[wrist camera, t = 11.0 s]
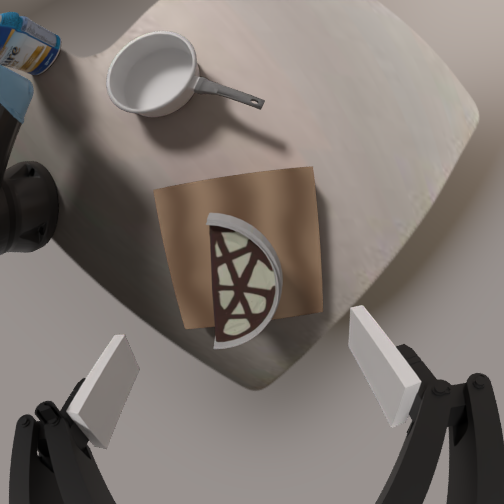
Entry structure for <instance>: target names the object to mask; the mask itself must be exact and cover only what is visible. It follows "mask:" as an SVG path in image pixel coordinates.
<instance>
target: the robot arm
mask: <svg viewBox="0 0 504 504" xmlns="http://www.w3.org/2000/svg"><path fill="white" fill-rule="evenodd" d="M33 92H34V88H33V84H32V83H31V81H29V80H28V79H26V78H24V77H23V76H21V75H19V74H17V73H15V72H13V71H12V70H10V69H8V68H6V67H4V66H2V65H0V255H1V254H3V253H6V252H33V251H35V250H37V249H39V248H41V247H43V246H44V245H46V243H48V242H49V240H50V239H51V237H52V235H53V233H54V230H55V227H56V224H57V218H58V198H57V192H56V188H55V184H54V182H53V179H52V177H51V175H50V173H49V172H48V170H47V169H46V168H45V167H44V166H43V165H41V164H40V163H38V162H34V161H27V162H20V163H17V164H15V165H13V166H12V167H10V168H8V169H7V170H6V167H7V163H8V160H9V157H10V154H11V151H12V148H13V145H14V142H15V140H16V137H17V134H18V132H19V129H20V127H21V125H22V124H23V122H24V117H25V114H26V111H27V109H28V106H29V104H30V101H31V99H32V96H33ZM348 346H349V348H350V350H351V352H352V354H353V356H354V357H355V359H356V361H357V363H358V365H359V367H360V369H361V370H362V372H363V374H364V376H365V378H366V380H367V382H368V384H369V385H370V387H371V389H372V391H373V393H374V395H375V397H376V399H377V401H378V403H379V405H380V407H381V409H382V411H383V413H384V414H385V417H386V418H387V421H388V423H389V424H390V426H391V428H392V427H394V426H397V425H399V424H402V423H405V422H406V420H407V418H408V416H409V415H410V417H411V419H412V423H411V424H410V427H409V429H408V431H407V436H406V439H405V441H404V444H403V447H402V449H401V451H400V454H399V456H398V459H397V461H396V463H395V466H394V468H393V470H392V472H391V474H390V476H389V478H388V481H387V482H386V485H385V486H384V488H383V490H382V493H381V494H380V496H379V498H378V500H377V501H376V503H375V504H422V503H423V501H424V499H425V497H426V494H427V491H428V489H429V486H430V484H431V481H432V478H433V475H434V472H435V469H436V466H437V462H438V459H439V456H440V453H441V449H442V445H443V441H444V437H445V433H446V429H447V427H449V482H448V483H449V484H448V495H447V504H504V441H503V435H502V428H501V423H500V418H499V413H498V408H497V404H496V400H495V396H494V392H493V388H492V385H491V381H490V380H489V378H488V377H487V376H486V375H484V374H481V373H475V374H472V375H471V376H470V377H469V378H468V380H467V382H466V383H463V384H457V385H451V384H450V383H448V382H447V381H444V380H437V379H436V378H435V377H434V375H433V374H432V373H431V371H430V370H429V369H428V368H427V366H426V365H425V364H424V363H423V361H421V359H420V358H419V357H418V356H417V354H416V353H415V351H414V350H413V349H412V348H410V347H408V346H407V345H405V344H403V345H399V346H396V347H395V345H394V344H393V343H392V342H391V340H390V339H389V338H388V336H387V335H386V334H385V333H384V331H383V330H382V329H381V327H380V326H379V325H378V324H377V322H376V321H375V320H374V319H373V317H372V316H371V315H370V314H369V312H368V311H367V310H366V309H365V307H364V306H363V305H361V306H357V307H351V308H350V328H349V344H348ZM139 370H140V368H139V366H138V364H137V362H136V359H135V357H134V355H133V352H132V350H131V348H130V345H129V343H128V340H127V338H126V336H125V335H114V337H113V338H112V340H111V341H110V343H109V344H108V345H107V347H106V348H105V350H104V351H103V353H102V354H101V356H100V357H99V359H98V360H97V362H96V363H95V365H94V367H93V368H92V370H91V371H90V373H89V374H88V376H87V378H83V379H82V380H81V381H80V382H78V383H77V385H76V386H75V388H74V389H73V391H72V393H71V394H70V396H69V397H68V399H67V401H66V402H65V404H64V406H63V407H62V409H61V411H59V410H58V408H57V407H56V405H55V404H54V403H53V402H51V401H45V402H43V403H40V404H39V405H38V406H37V408H36V410H35V415H36V416H37V417H38V418H39V420H40V421H36V420H35V419H34V418H33V416H31V415H23V416H22V417H20V419H19V420H18V422H17V425H16V430H15V436H14V442H13V449H12V457H11V467H10V482H9V504H116V503H115V501H114V499H113V497H112V495H111V494H110V492H109V490H108V488H107V486H106V484H105V482H104V480H103V478H102V475H101V473H100V471H99V469H98V467H97V464H96V462H95V460H94V457H93V455H92V452H91V450H90V448H89V447H88V445H87V443H88V441H90V442H91V443H92V444H93V445H94V446H95V447H99V448H104V449H107V447H108V444H109V442H110V439H111V436H112V434H113V432H114V429H115V427H116V424H117V421H118V419H119V417H120V414H121V412H122V409H123V407H124V405H125V402H126V400H127V398H128V395H129V393H130V391H131V388H132V386H133V384H134V381H135V379H136V377H137V375H138V372H139ZM37 451H38V452H39V456H38V455H37Z"/></svg>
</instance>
